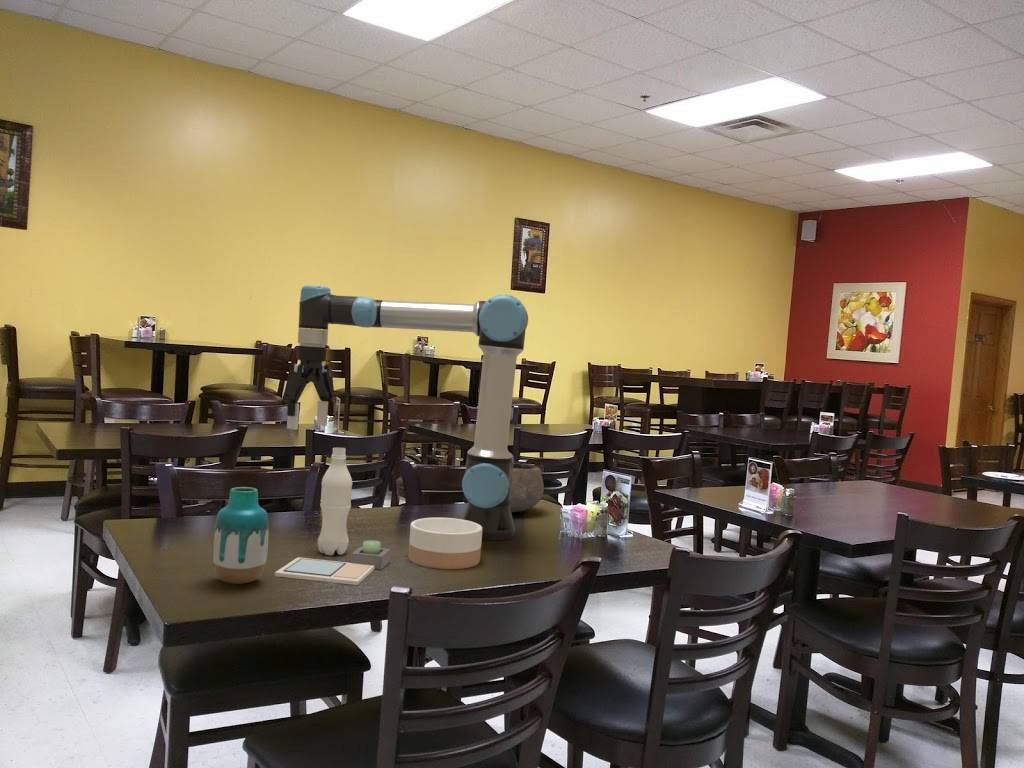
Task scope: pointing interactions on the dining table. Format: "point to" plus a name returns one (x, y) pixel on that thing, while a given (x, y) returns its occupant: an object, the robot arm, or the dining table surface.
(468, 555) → the bowl
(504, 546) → the dining table surface
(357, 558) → the button housing
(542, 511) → the dining table surface
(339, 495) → the water bottle
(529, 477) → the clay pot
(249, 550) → the vase
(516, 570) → the dining table surface
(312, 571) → the cream rectangular board
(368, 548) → the button
